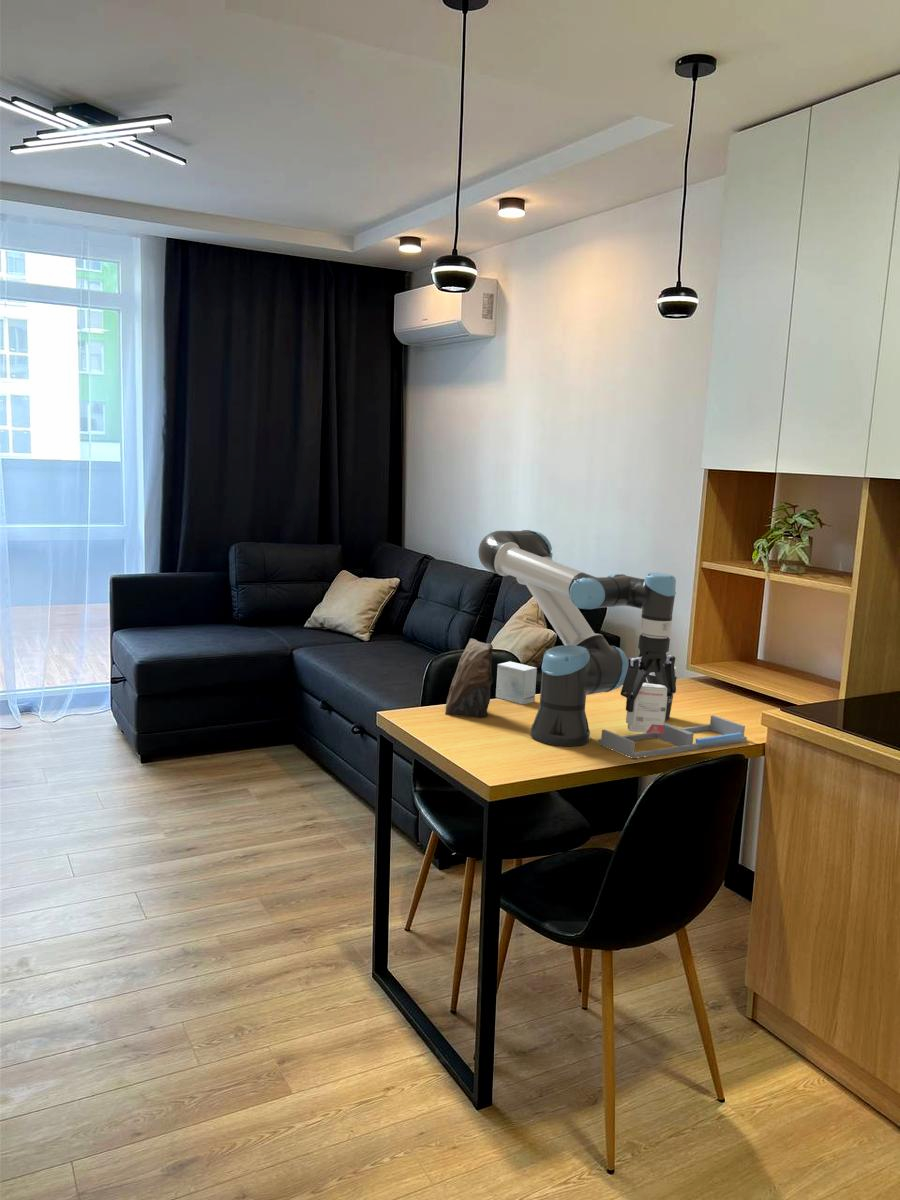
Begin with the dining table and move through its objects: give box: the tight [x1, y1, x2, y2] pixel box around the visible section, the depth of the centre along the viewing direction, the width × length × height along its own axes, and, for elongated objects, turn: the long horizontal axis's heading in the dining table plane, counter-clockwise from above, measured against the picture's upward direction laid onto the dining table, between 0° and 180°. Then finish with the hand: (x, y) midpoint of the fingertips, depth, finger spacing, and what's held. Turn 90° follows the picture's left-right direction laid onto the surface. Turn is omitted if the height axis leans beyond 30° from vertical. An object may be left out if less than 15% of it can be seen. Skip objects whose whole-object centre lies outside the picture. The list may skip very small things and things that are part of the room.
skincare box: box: [495, 660, 538, 706], centre depth 274 cm, size 10×6×10 cm, turn 48°
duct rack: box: [597, 714, 748, 759], centre depth 238 cm, size 40×13×4 cm, turn 121°
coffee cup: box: [645, 665, 680, 721], centre depth 262 cm, size 10×10×15 cm
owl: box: [444, 638, 494, 719], centre depth 256 cm, size 13×13×20 cm
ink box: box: [627, 682, 667, 734], centre depth 232 cm, size 9×5×12 cm, turn 84°
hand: (645, 722), depth 233 cm, fingers closed on ink box, 9 cm apart
